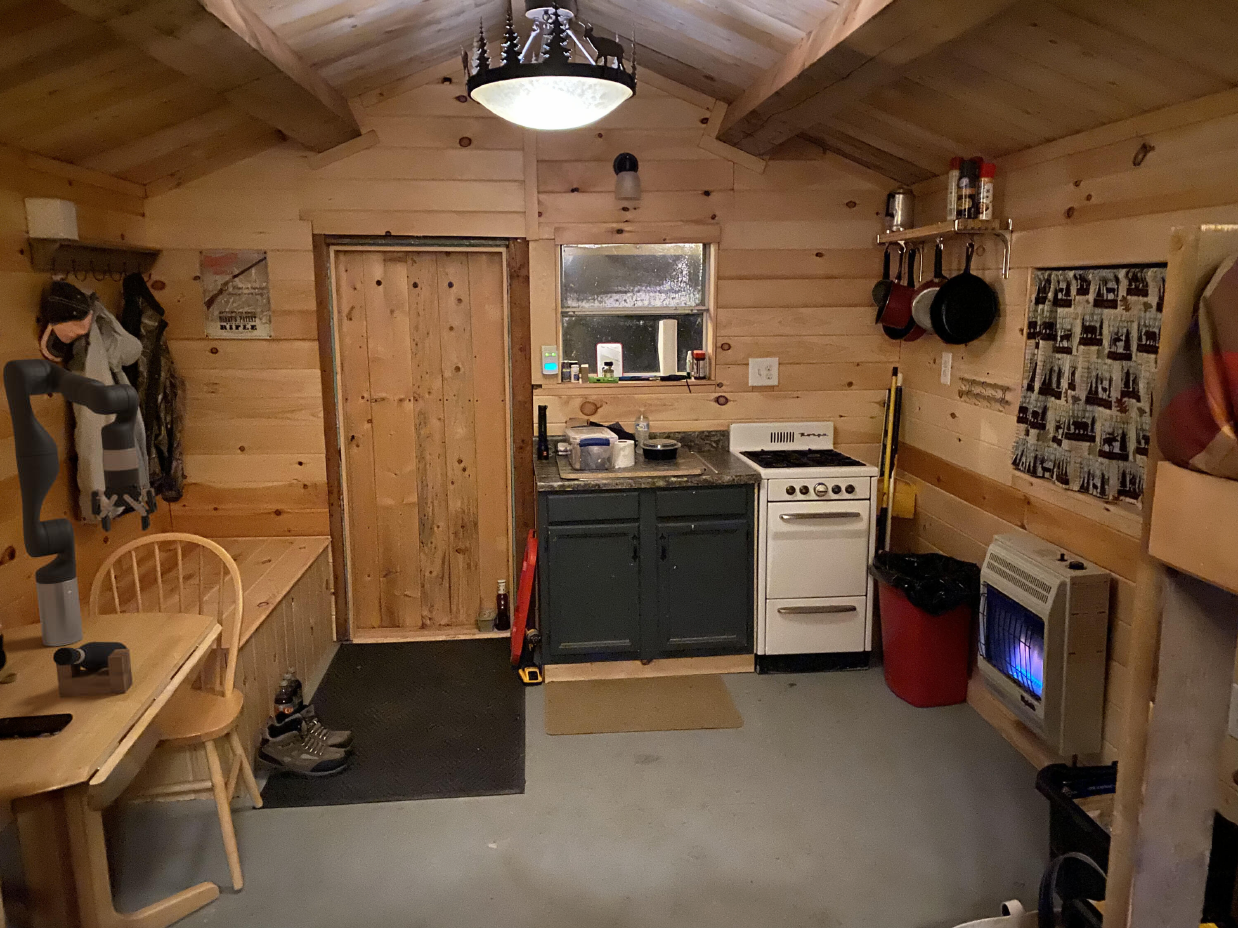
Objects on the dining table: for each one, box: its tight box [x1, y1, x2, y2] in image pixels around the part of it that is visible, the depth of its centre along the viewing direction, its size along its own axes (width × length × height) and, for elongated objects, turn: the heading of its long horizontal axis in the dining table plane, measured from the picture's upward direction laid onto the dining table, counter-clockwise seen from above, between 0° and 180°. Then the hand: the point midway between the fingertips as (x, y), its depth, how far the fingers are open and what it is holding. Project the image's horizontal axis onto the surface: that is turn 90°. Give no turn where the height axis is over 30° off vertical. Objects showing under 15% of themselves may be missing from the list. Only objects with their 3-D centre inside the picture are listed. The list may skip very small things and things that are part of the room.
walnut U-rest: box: [55, 648, 134, 698], centre depth 211 cm, size 5×14×9 cm, turn 100°
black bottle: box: [52, 641, 128, 670], centre depth 211 cm, size 6×6×30 cm
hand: (126, 530), depth 223 cm, fingers open, 8 cm apart
